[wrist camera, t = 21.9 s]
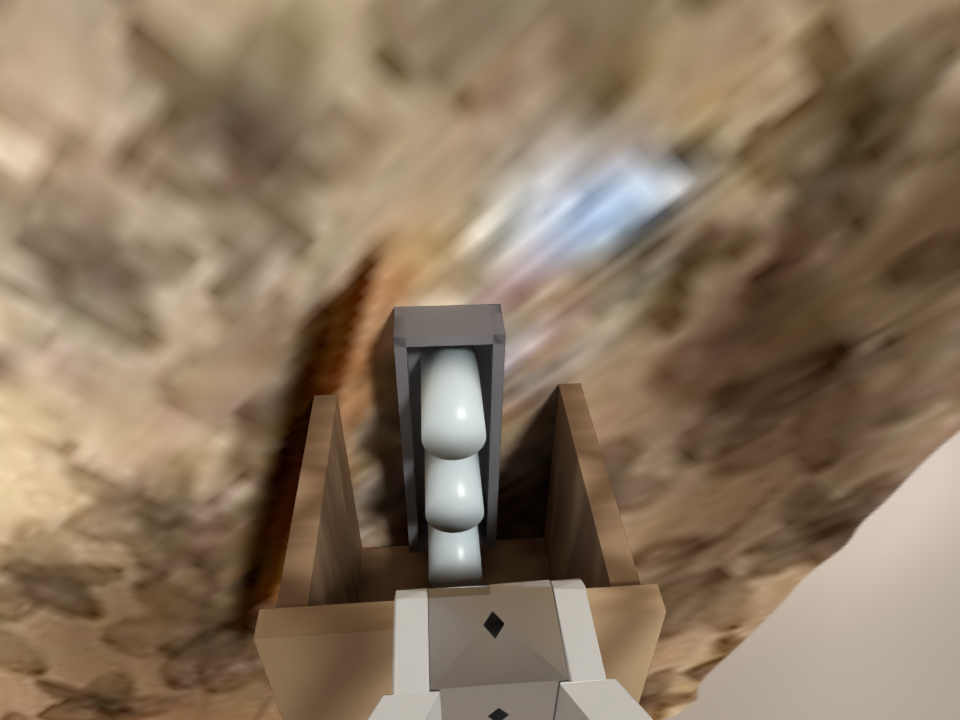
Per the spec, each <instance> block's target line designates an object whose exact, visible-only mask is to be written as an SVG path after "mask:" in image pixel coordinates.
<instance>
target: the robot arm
mask: <svg viewBox="0 0 960 720" xmlns="http://www.w3.org/2000/svg"><path fill="white" fill-rule="evenodd" d="M367 720H653V719H652V718H651V717H650V716H649V715H648V714H647V712H646V711H645V710H644V709H643V708H642V707H641V706H640V705H639V704H638V702H637V701H636V700H635V699H634V698H633V697H632V696H631V695H630V694H629V693H628V691H627V690H626V689H625V688H624V687H623V686H622V685H621V684H620V683H619V681H618V680H617V679H616V678H608V679H606V675H605V671H604V666H603V662H602V658H601V653H600V649H599V645H598V640H597V636H596V632H595V627H594V623H593V618H592V614H591V610H590V605H589V601H588V597H587V592H586V588H585V585H584V583H583V582H582V580H581V579H580V578H578V579H565V580H552V581H549V580H541V581H529V582H516V583H504V584H492V585H485V586H468V587H451V588H433V589H428V588H424V589H410V590H396V594H395V600H394V628H393V665H392V694H387V695H382V696H381V698H380V699H379V701H378V703H377V704H376V706H375V707H374V709H373V711H372V712H371V714H370V715H369V717H368V719H367Z"/></svg>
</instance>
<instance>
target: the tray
mask: <svg viewBox="0 0 960 720" xmlns="http://www.w3.org/2000/svg"><path fill="white" fill-rule="evenodd" d="M505 335H506V334H505V328H504V323H503V317H502V311H501V306H500V304H487V305H452V306H417V307H395V309H394V332H393V341H394V354H395V367H396V380H397V392H398V405H399V418H400V431H401V444H402V457H403V470H404V483H405V496H406V509H407V522H408V535H409V548H410V553H416V552H428V567H429V582H430V584H431V585H432V587H434V588H451V587H468V586H477V585H478V584H479V583H480V582H481V580H482V566H481V555H480V549H492V548H496V531H497V509H498V487H499V466H500V444H501V422H502V401H503V379H504V357H505Z"/></svg>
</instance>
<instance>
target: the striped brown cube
mask: <svg viewBox="0 0 960 720" xmlns="http://www.w3.org/2000/svg"><path fill="white" fill-rule="evenodd" d="M480 555H481V566H482V580H481V582H480V583H479V584H478V585H477V586H485V585H492V584H504V583H516V582H529V581H541V580H549V581H552V580H565V579H578V578H580V579H581V580H582V582H583V583H584V585H585V588H586V592H587V597H588V601H589V605H590V610H591V614H592V618H593V623H594V627H595V632H596V636H597V640H598V645H599V649H600V653H601V658H602V662H603V666H604V671H605V675H606V679H608V678H616V679H617V680H618V681H619V683H620V684H621V685H622V686H623V687H624V688H625V689H626V690H627V691H628V693H629V694H630V695H631V696H632V697H633V698H634V699H635V700H636V701H637V702H638V704H639V701H640V698H641V694H642V691H643V688H644V684H645V681H646V678H647V675H648V671H649V668H650V665H651V661H652V658H653V655H654V651H655V648H656V645H657V641H658V638H659V635H660V631H661V628H662V625H663V621H664V618H665V615H666V609H665V606H664V603H663V600H662V596H661V593H660V590H659V587H658V584H647V585H641V584H640V581H639V577H638V574H637V571H636V567H635V564H634V561H633V557H632V554H631V551H630V547H629V544H628V540H627V537H626V534H625V530H624V527H623V524H622V520H621V517H620V514H619V510H618V507H617V504H616V500H615V497H614V494H613V490H612V487H611V484H610V480H609V477H608V474H607V470H606V467H605V463H604V460H603V457H602V453H601V450H600V447H599V443H598V440H597V437H596V433H595V430H594V427H593V423H592V420H591V417H590V413H589V410H588V407H587V403H586V400H585V397H584V393H583V390H582V387H581V383H580V384H559V388H558V399H557V409H556V420H555V430H554V440H553V451H552V461H551V472H550V482H549V492H548V503H547V513H546V524H545V534H544V537H542V538H525V539H508V540H496V548H492V549H480ZM424 588H428V589H433V588H434V587H432V585H431V584H430V582H429V567H428V552H416V553H410V548H409V545H407V546H390V547H373V548H362V545H361V539H360V533H359V527H358V520H357V514H356V508H355V502H354V496H353V490H352V484H351V478H350V471H349V465H348V459H347V453H346V447H345V441H344V435H343V429H342V423H341V416H340V410H339V404H338V398H337V395H317V396H314V400H313V405H312V411H311V417H310V422H309V428H308V433H307V439H306V445H305V450H304V456H303V461H302V467H301V473H300V478H299V484H298V489H297V495H296V501H295V506H294V512H293V517H292V523H291V529H290V534H289V540H288V545H287V551H286V557H285V562H284V568H283V573H282V579H281V585H280V590H279V596H278V601H277V607H276V608H273V609H259V614H258V619H257V624H256V629H255V634H254V642H255V645H256V647H257V650H258V653H259V656H260V658H261V661H262V664H263V667H264V669H265V672H266V675H267V677H268V680H269V683H270V686H271V688H272V691H273V694H274V697H275V699H276V702H277V705H278V707H279V710H280V713H281V716H282V718H283V720H367V719H368V717H369V715H370V714H371V712H372V711H373V709H374V707H375V706H376V704H377V703H378V701H379V699H380V698H381V696H382V695H387V694H392V665H393V628H394V600H395V594H396V590H410V589H424Z"/></svg>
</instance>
